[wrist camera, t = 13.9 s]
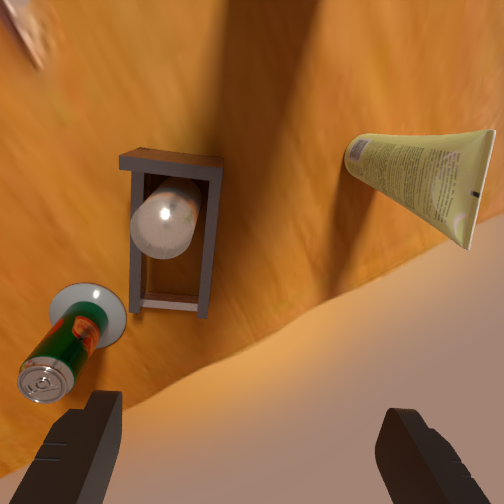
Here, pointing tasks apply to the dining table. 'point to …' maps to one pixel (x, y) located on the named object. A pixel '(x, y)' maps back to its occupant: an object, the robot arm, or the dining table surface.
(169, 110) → the dining table surface
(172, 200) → the grey metal cylinder
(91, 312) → the soda can
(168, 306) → the can rack
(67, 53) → the dining table surface
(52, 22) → the dining table surface
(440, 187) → the tube
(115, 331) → the grey disc
